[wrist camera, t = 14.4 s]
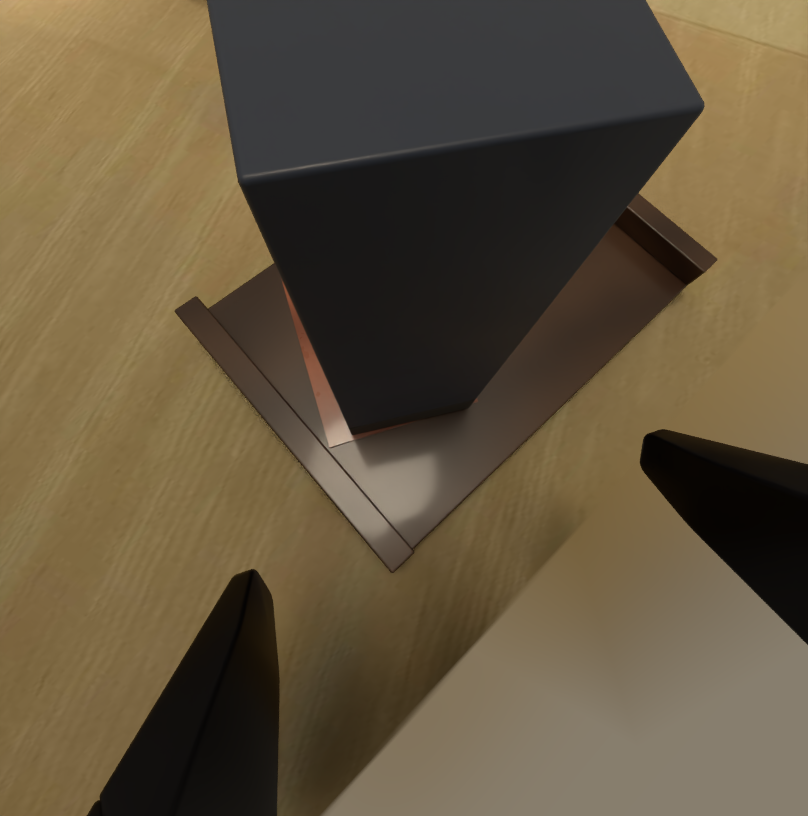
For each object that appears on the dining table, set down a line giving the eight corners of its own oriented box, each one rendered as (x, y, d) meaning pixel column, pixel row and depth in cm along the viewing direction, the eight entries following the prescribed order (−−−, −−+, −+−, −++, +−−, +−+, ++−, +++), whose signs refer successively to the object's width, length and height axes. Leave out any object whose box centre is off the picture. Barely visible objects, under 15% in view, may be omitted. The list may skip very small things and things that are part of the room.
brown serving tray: (680, 288, 22) (718, 259, 20) (391, 565, 18) (392, 574, 15) (486, 122, 25) (498, 76, 22) (192, 326, 20) (163, 298, 18)
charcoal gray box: (469, 408, 18) (710, 105, 5) (351, 435, 18) (235, 181, 4) (416, 230, 21) (472, -308, 7) (311, 250, 20) (154, -297, 6)
